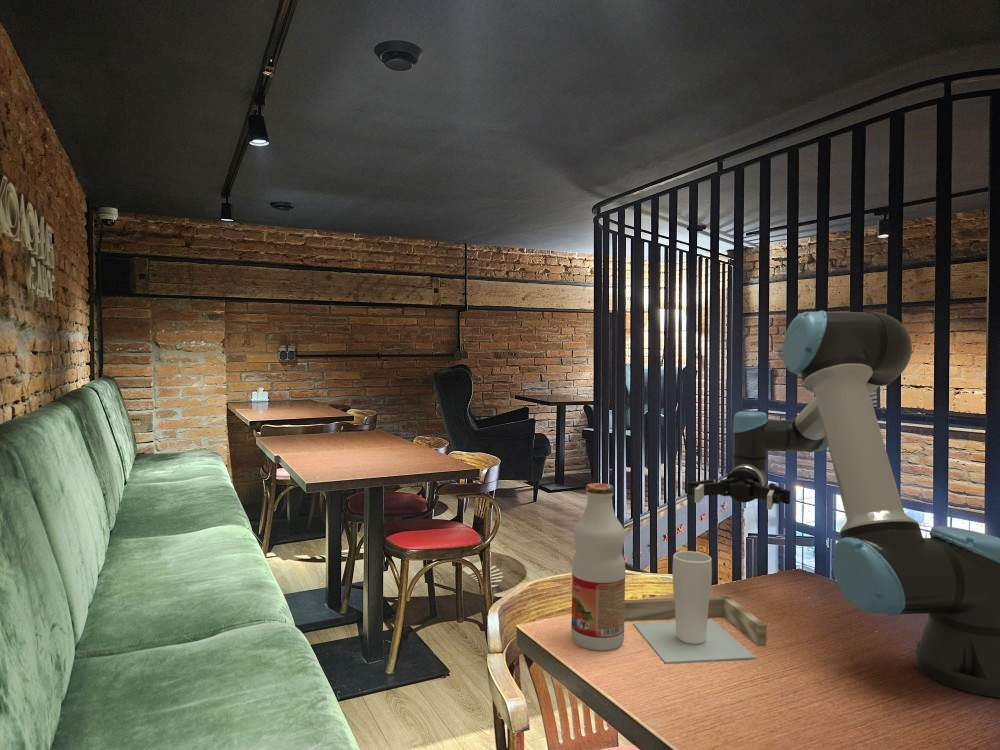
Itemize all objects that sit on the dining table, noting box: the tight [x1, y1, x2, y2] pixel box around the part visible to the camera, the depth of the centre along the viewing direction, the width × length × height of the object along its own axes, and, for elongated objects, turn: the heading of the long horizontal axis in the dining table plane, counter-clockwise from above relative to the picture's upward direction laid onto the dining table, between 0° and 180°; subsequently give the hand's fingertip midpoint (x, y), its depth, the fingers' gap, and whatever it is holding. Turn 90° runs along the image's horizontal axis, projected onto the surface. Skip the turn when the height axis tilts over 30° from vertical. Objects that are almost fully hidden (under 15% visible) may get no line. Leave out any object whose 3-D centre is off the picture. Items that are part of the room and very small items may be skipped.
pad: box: [632, 619, 756, 665], centre depth 118 cm, size 16×16×1 cm
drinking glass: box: [672, 550, 713, 644], centre depth 118 cm, size 7×7×15 cm
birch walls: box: [624, 595, 768, 646], centre depth 122 cm, size 14×24×4 cm, turn 97°
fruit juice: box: [570, 482, 626, 652], centre depth 117 cm, size 9×9×28 cm
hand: (731, 499), depth 129 cm, fingers open, 13 cm apart
